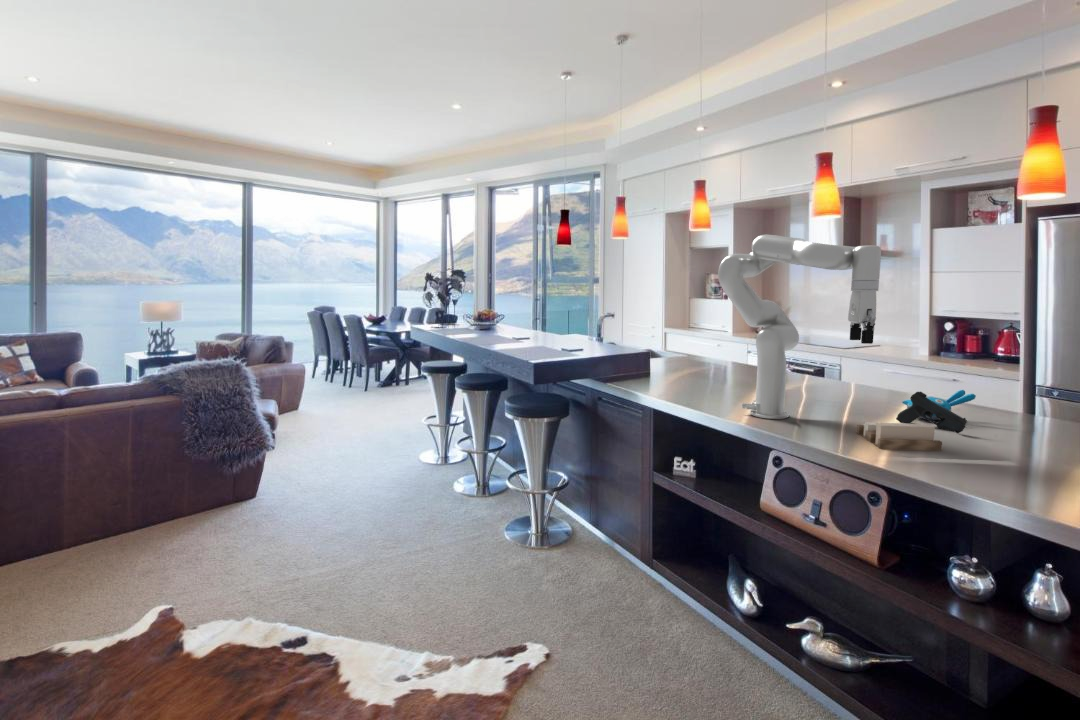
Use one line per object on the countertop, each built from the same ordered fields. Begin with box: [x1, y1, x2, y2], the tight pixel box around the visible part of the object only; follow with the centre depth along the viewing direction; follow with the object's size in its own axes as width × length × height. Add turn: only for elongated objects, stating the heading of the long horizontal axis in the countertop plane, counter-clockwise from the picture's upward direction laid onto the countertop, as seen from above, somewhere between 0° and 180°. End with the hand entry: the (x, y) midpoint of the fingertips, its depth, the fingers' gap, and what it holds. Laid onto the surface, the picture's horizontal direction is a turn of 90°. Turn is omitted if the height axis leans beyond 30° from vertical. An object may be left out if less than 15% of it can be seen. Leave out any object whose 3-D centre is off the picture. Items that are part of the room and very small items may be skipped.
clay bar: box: [875, 422, 936, 444], centre depth 173 cm, size 14×3×6 cm, turn 82°
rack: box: [856, 424, 943, 452], centre depth 178 cm, size 16×17×4 cm
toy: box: [901, 389, 977, 421], centre depth 208 cm, size 20×19×10 cm
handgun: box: [896, 391, 968, 434], centre depth 194 cm, size 2×17×12 cm, turn 41°
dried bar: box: [863, 421, 905, 436], centre depth 182 cm, size 14×3×4 cm, turn 82°
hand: (860, 341), depth 190 cm, fingers open, 9 cm apart
